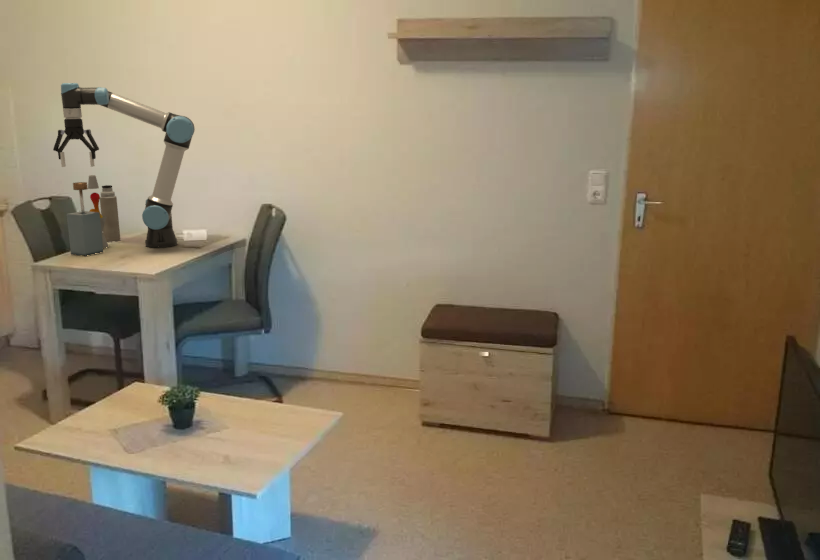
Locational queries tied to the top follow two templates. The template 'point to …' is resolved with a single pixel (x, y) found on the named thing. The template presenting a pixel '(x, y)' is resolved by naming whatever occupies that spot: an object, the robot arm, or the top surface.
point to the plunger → (80, 192)
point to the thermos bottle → (110, 214)
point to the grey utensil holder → (85, 233)
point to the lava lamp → (97, 205)
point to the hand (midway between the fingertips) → (78, 166)
